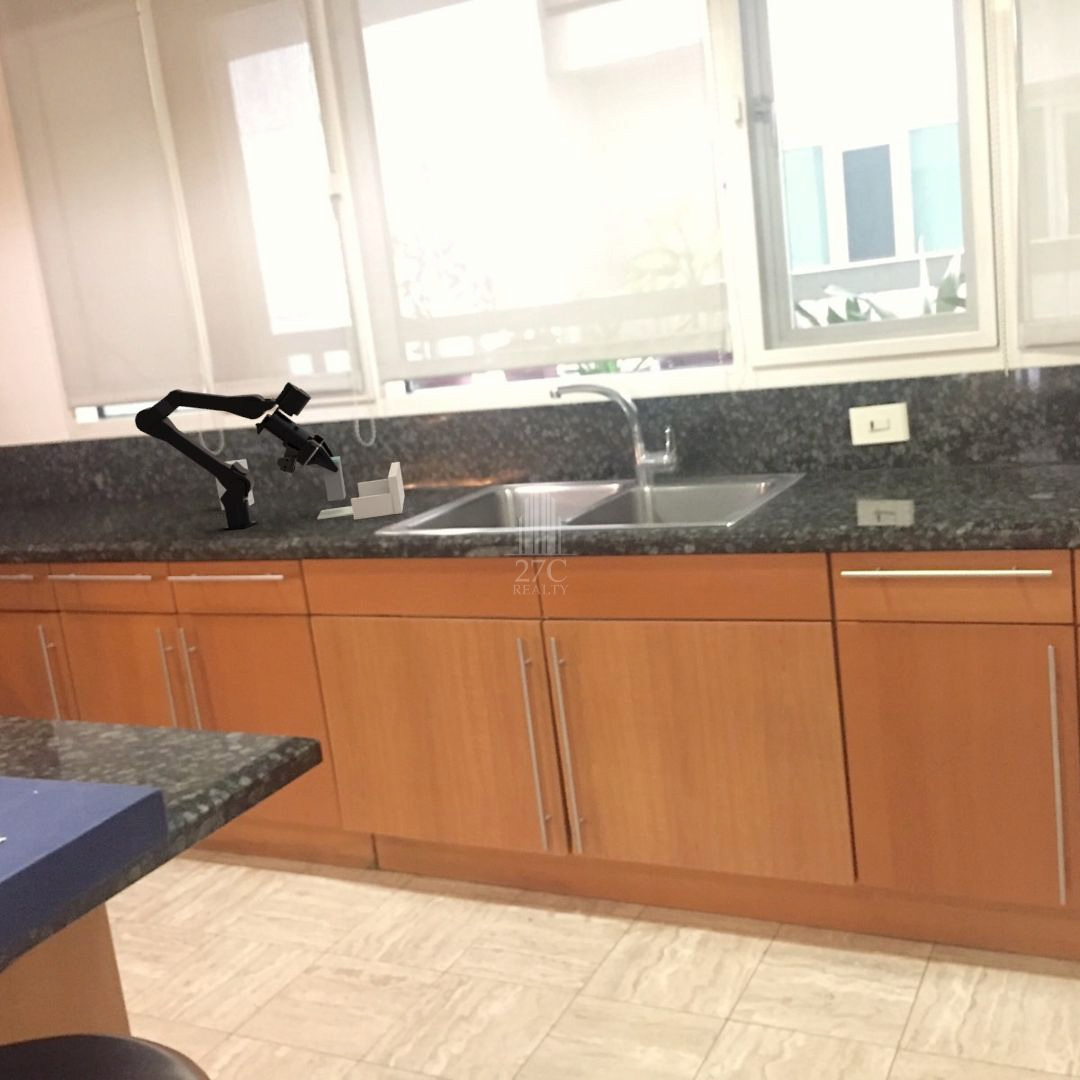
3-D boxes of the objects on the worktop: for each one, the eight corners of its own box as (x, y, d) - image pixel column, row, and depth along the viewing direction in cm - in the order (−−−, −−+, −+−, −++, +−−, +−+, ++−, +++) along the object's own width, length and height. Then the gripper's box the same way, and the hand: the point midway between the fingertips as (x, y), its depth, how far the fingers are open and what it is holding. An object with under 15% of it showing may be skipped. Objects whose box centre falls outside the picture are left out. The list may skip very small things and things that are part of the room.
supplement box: (255, 502, 333) (247, 458, 330) (246, 508, 325) (238, 462, 323) (230, 505, 334) (221, 461, 331) (220, 510, 326) (212, 465, 324)
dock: (354, 519, 285) (348, 482, 283) (360, 501, 311) (355, 467, 309) (401, 512, 286) (396, 476, 284) (404, 495, 311) (399, 461, 309)
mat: (317, 519, 292) (317, 518, 292) (321, 511, 303) (321, 510, 303) (358, 513, 293) (357, 512, 292) (360, 506, 303) (360, 504, 303)
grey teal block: (328, 501, 294) (321, 461, 292) (330, 497, 300) (323, 458, 298) (344, 499, 294) (338, 459, 292) (345, 495, 300) (339, 456, 298)
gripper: (272, 452, 302) (322, 489, 305) (261, 461, 284) (315, 500, 287) (298, 417, 301) (348, 454, 304) (289, 424, 283) (343, 464, 286)
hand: (338, 469), depth 296 cm, fingers closed on grey teal block, 6 cm apart
